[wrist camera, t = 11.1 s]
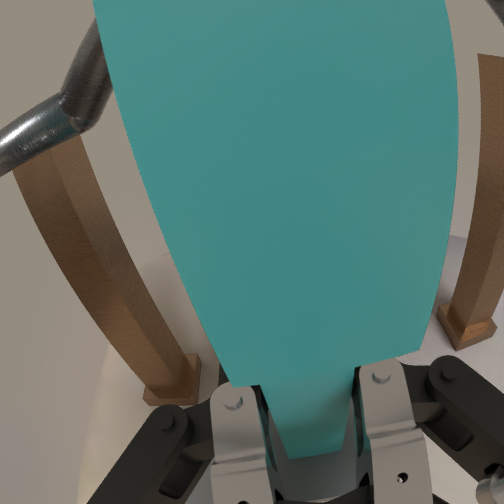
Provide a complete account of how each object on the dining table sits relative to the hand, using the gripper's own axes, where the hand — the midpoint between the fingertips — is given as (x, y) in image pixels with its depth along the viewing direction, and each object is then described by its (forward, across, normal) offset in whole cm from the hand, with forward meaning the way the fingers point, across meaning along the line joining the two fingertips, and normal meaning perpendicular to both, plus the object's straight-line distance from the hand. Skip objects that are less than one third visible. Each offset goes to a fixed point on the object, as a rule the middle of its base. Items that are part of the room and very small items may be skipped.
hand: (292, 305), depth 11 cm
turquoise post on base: (-3, 0, +7) cm, 8 cm away
